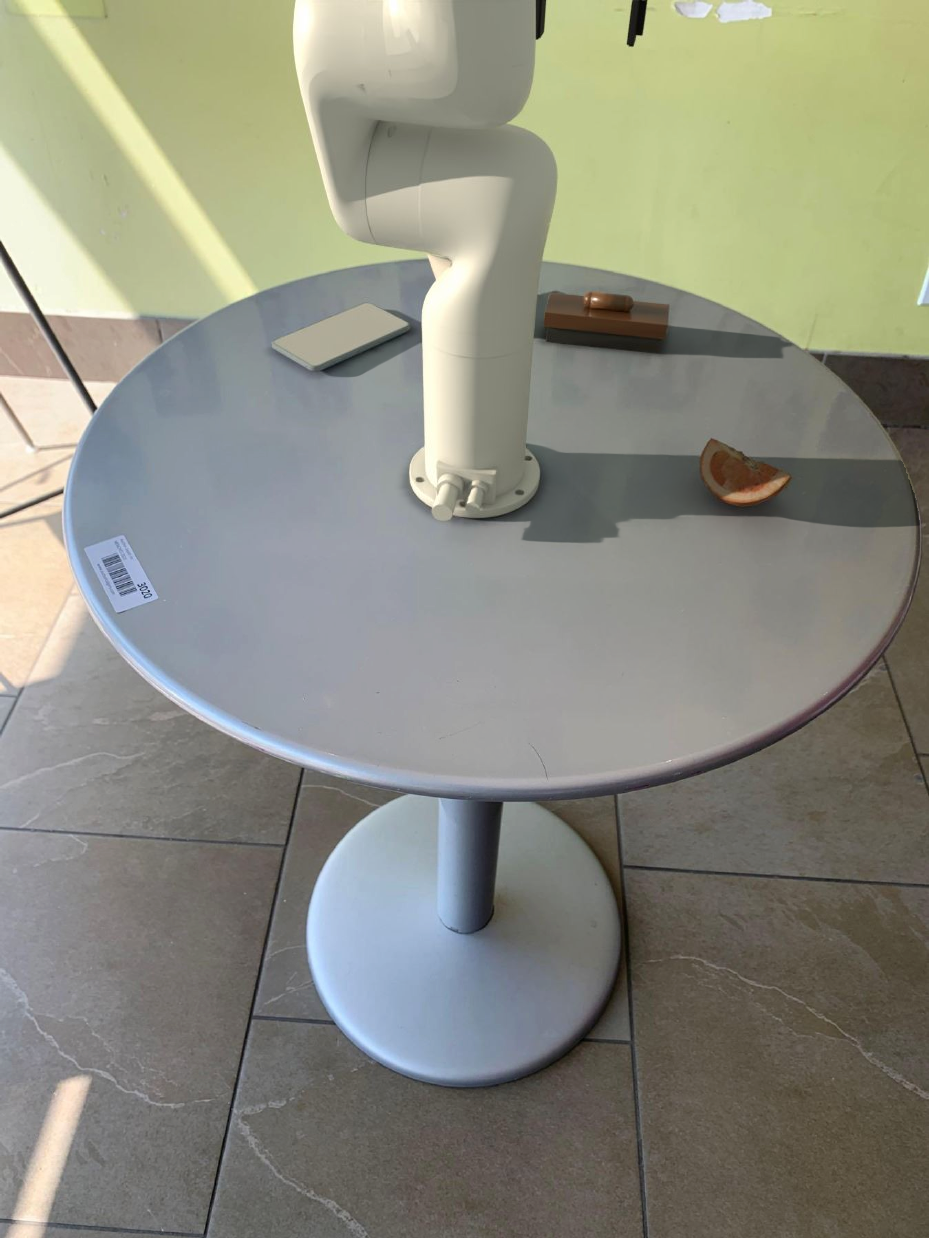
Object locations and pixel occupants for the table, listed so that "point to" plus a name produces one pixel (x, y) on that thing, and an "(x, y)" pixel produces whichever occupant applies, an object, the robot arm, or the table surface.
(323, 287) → the table surface
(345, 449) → the table surface
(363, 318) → the smartphone
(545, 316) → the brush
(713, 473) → the fruit slice
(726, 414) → the table surface
